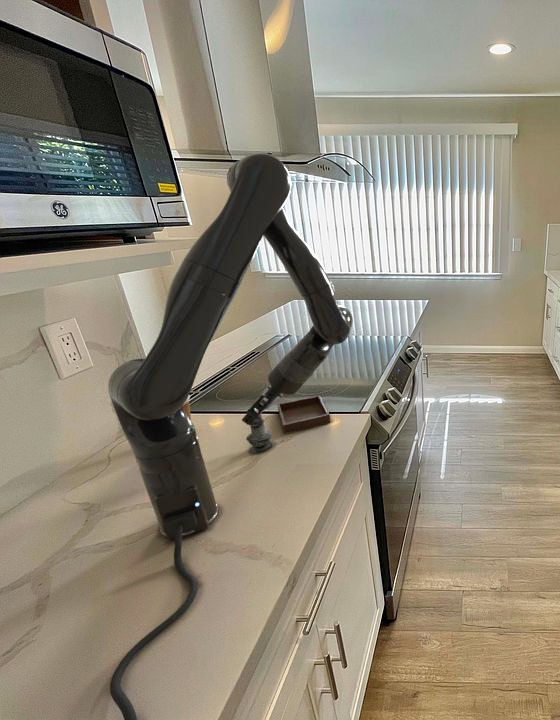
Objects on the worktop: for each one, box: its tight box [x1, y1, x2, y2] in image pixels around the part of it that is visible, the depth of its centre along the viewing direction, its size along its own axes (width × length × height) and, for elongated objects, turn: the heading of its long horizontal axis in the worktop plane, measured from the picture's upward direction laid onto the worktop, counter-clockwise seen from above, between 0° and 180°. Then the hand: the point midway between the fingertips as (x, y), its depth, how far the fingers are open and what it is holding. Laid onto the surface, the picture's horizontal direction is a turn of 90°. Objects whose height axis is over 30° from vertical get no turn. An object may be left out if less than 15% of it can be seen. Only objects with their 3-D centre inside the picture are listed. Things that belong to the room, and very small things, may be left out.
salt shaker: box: [245, 414, 274, 454], centre depth 100 cm, size 6×6×12 cm
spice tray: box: [276, 394, 331, 434], centre depth 117 cm, size 15×12×3 cm
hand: (254, 413), depth 99 cm, fingers open, 8 cm apart
